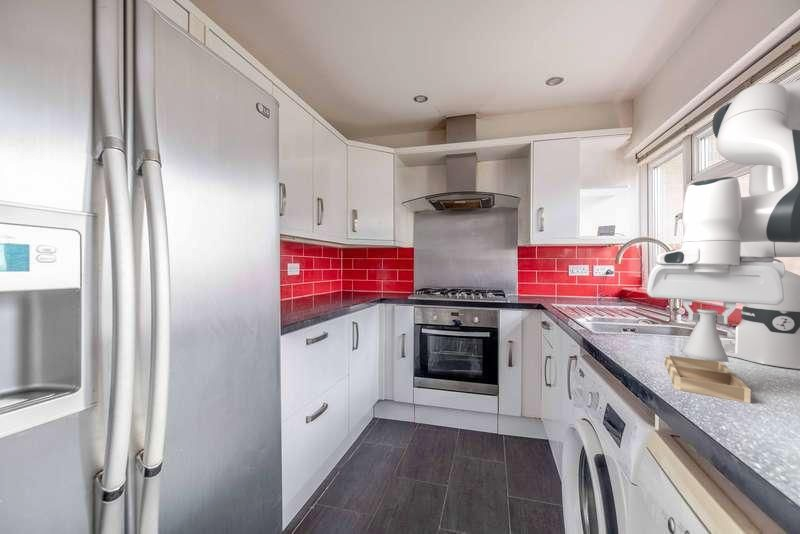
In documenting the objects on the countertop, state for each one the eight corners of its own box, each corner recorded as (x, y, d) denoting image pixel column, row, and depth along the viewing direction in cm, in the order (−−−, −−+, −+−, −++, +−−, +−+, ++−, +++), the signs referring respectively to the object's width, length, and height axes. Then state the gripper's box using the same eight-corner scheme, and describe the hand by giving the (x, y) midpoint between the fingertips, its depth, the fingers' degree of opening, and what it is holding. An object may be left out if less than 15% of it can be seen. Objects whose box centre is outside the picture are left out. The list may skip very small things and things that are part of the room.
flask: (738, 365, 62) (742, 314, 61) (692, 360, 64) (696, 310, 63) (713, 355, 69) (717, 309, 68) (673, 350, 71) (676, 306, 70)
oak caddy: (664, 364, 82) (664, 354, 82) (722, 372, 76) (722, 362, 75) (675, 389, 65) (675, 377, 65) (750, 403, 59) (750, 389, 59)
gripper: (778, 257, 62) (776, 327, 63) (646, 256, 74) (645, 315, 74) (792, 256, 57) (789, 332, 57) (648, 255, 69) (646, 319, 69)
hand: (706, 322), depth 66 cm, fingers closed on flask, 3 cm apart
